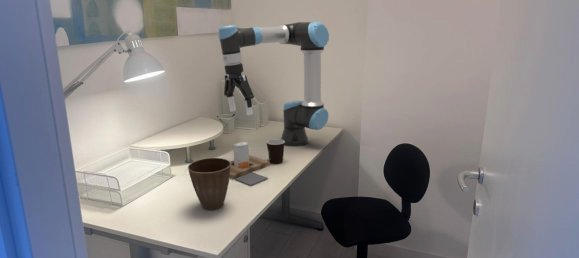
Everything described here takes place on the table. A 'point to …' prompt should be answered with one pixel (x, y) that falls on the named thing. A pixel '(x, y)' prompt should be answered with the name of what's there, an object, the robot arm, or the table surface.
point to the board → (253, 166)
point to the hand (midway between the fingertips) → (241, 113)
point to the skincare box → (241, 155)
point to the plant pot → (210, 181)
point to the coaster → (251, 179)
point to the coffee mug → (275, 150)
